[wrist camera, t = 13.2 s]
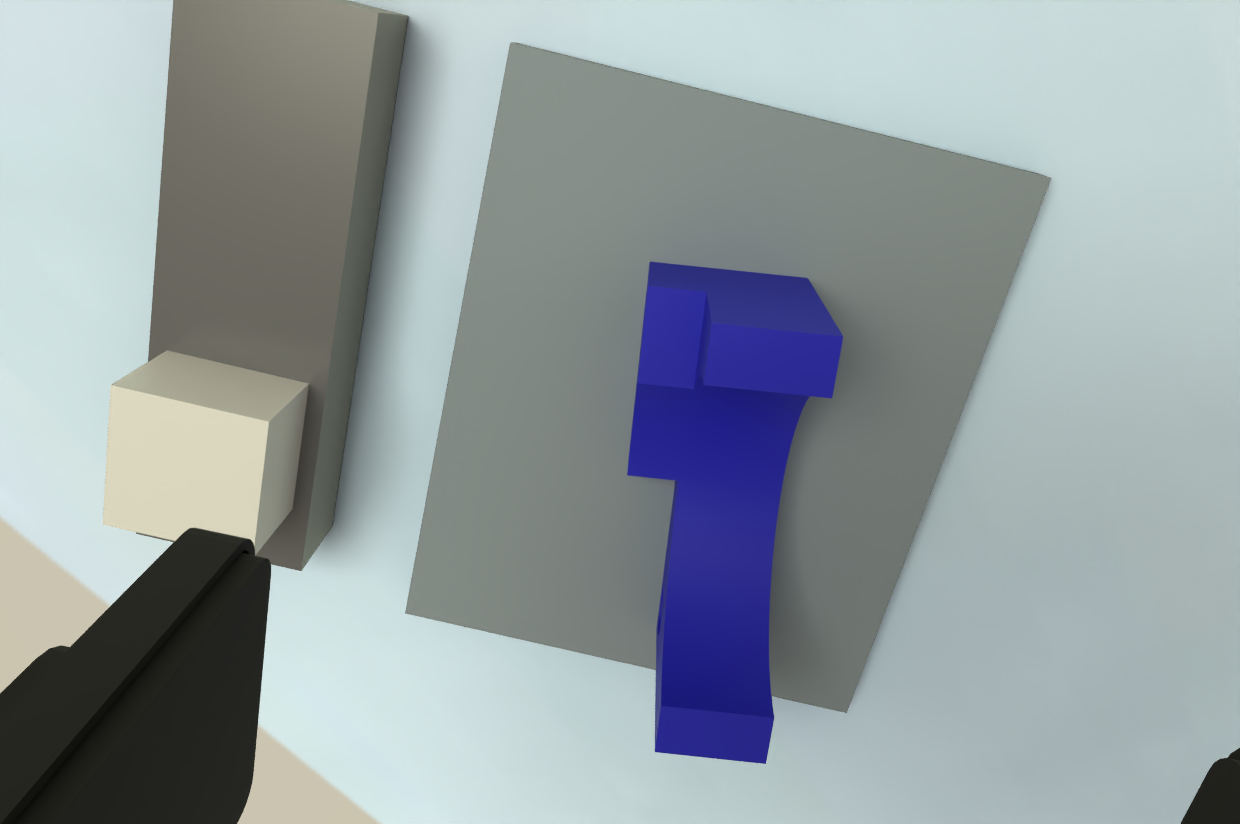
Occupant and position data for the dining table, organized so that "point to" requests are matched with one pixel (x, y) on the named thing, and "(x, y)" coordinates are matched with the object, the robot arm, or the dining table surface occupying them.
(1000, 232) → the slate mat
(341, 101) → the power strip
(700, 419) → the blue curved block
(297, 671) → the dining table surface
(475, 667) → the dining table surface
